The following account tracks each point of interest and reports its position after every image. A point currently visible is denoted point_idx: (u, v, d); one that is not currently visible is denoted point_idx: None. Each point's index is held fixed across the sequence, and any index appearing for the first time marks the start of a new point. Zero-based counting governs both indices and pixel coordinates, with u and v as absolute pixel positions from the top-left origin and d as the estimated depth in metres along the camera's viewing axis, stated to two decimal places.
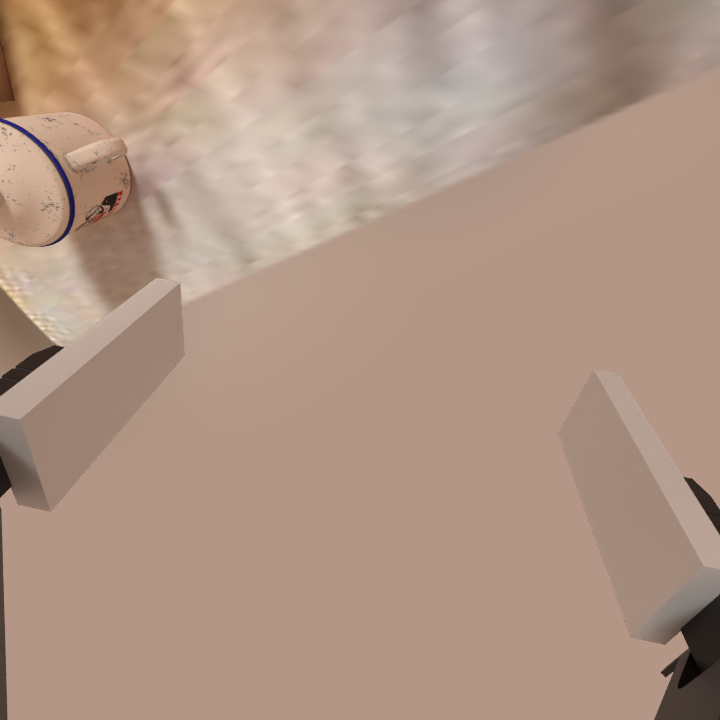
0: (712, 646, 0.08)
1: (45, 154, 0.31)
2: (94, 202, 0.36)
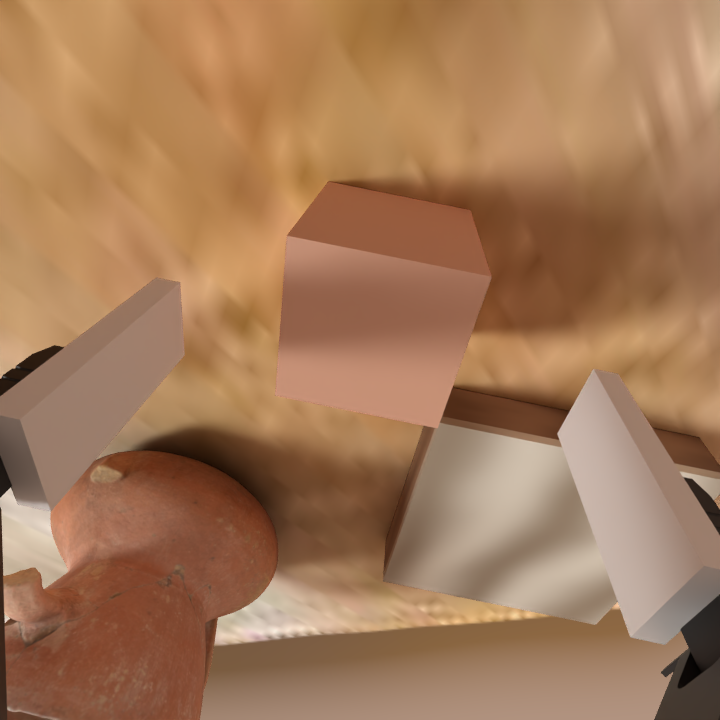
0: (712, 646, 0.08)
1: None
2: None
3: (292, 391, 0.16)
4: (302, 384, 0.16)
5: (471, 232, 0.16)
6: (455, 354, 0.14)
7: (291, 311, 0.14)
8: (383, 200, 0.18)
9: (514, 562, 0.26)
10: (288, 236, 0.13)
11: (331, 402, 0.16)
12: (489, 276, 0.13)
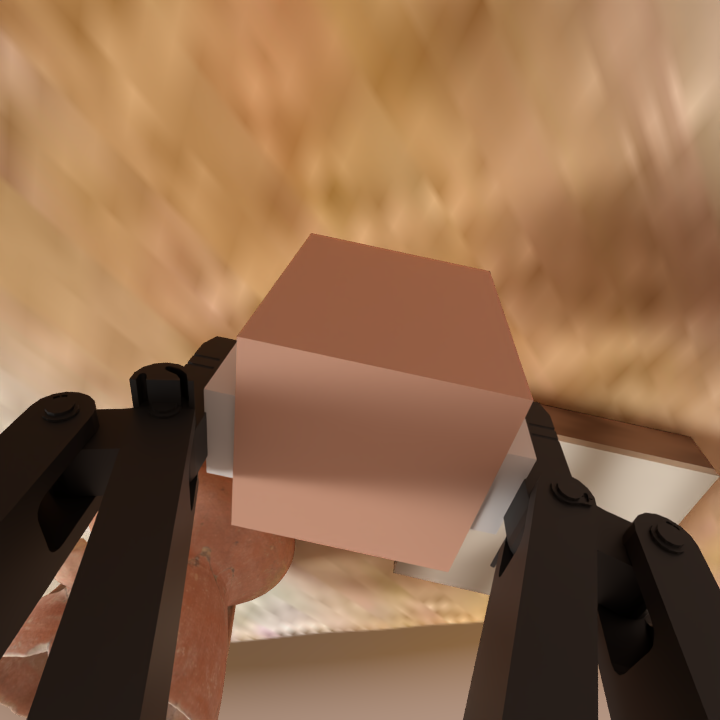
0: (518, 532, 0.10)
1: None
2: None
3: (253, 521, 0.12)
4: (266, 513, 0.12)
5: (494, 311, 0.12)
6: (476, 491, 0.10)
7: (248, 429, 0.10)
8: (379, 261, 0.14)
9: None
10: (239, 337, 0.09)
11: (306, 536, 0.12)
12: (529, 399, 0.09)
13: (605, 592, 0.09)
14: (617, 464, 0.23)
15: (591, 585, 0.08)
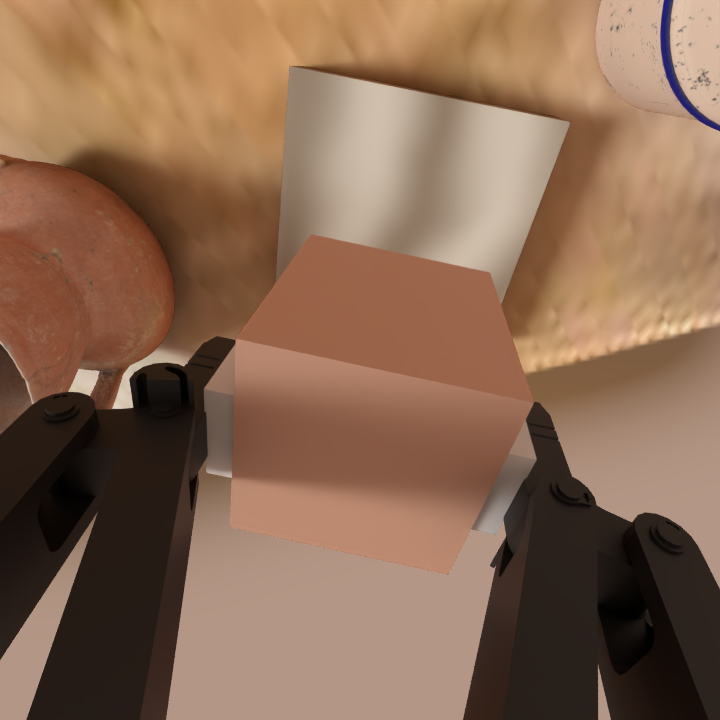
0: (518, 532, 0.10)
1: None
2: None
3: (253, 523, 0.12)
4: (265, 516, 0.12)
5: (495, 313, 0.12)
6: (476, 493, 0.10)
7: (247, 432, 0.10)
8: (379, 262, 0.14)
9: None
10: (237, 340, 0.09)
11: (305, 538, 0.12)
12: (530, 402, 0.09)
13: (605, 592, 0.09)
14: (467, 117, 0.22)
15: (591, 585, 0.08)
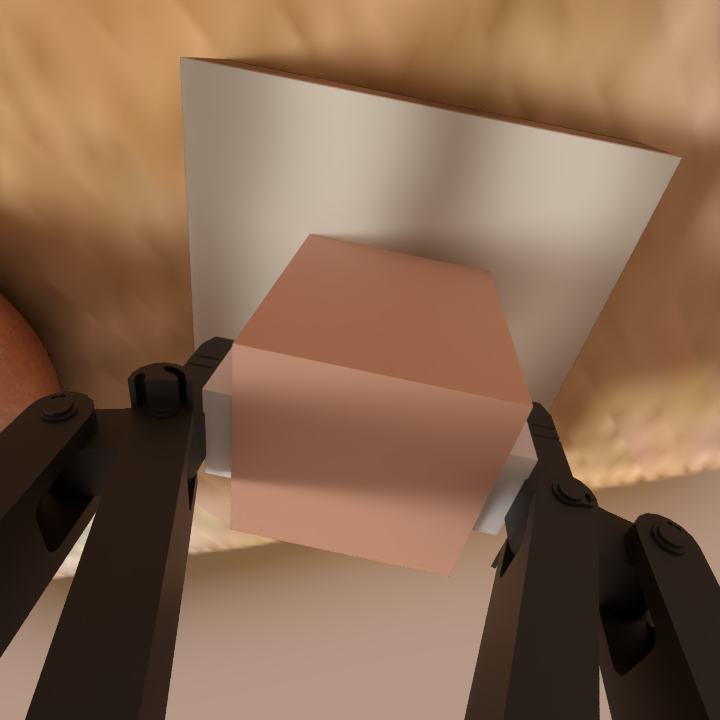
0: (519, 532, 0.10)
1: None
2: None
3: (252, 526, 0.12)
4: (265, 518, 0.12)
5: (495, 313, 0.12)
6: (475, 496, 0.10)
7: (245, 436, 0.10)
8: (378, 263, 0.14)
9: None
10: (234, 344, 0.09)
11: (305, 540, 0.12)
12: (529, 405, 0.09)
13: (607, 593, 0.09)
14: (496, 148, 0.13)
15: (593, 586, 0.08)
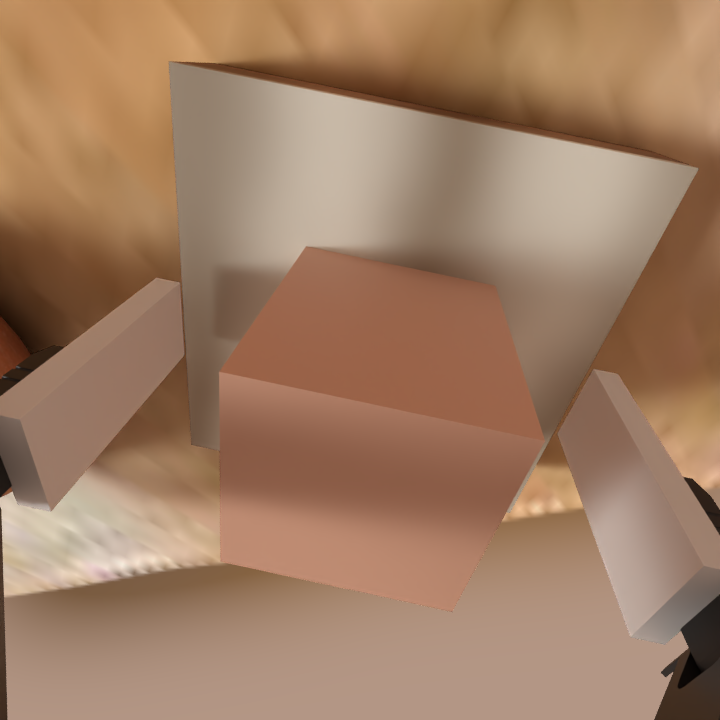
0: (712, 646, 0.08)
1: None
2: None
3: (244, 558, 0.11)
4: (257, 551, 0.11)
5: (501, 333, 0.11)
6: (481, 532, 0.10)
7: (234, 467, 0.09)
8: (378, 277, 0.13)
9: None
10: (221, 373, 0.08)
11: (300, 574, 0.11)
12: (541, 439, 0.08)
13: None
14: (501, 158, 0.12)
15: None
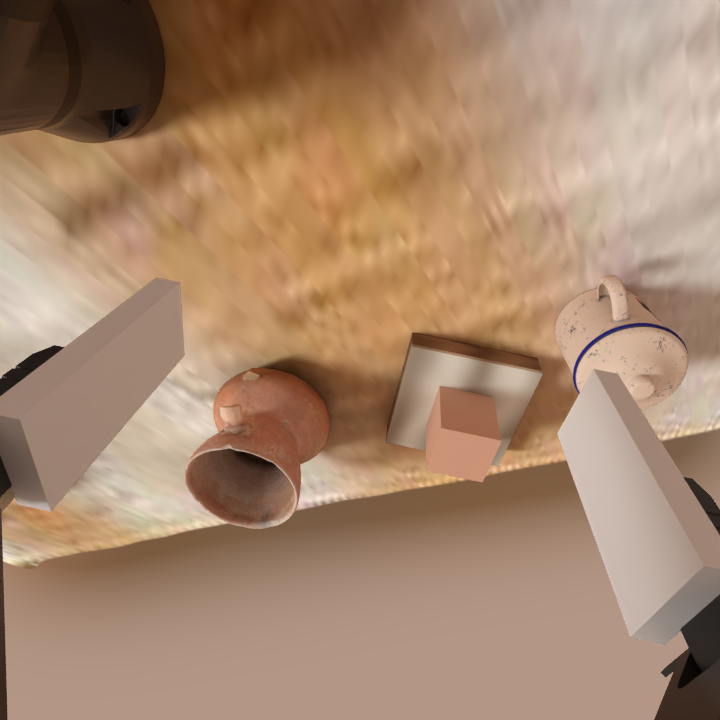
0: (712, 646, 0.08)
1: (617, 331, 0.37)
2: (652, 315, 0.40)
3: (432, 469, 0.47)
4: (436, 467, 0.46)
5: (494, 414, 0.47)
6: (489, 460, 0.45)
7: (437, 446, 0.45)
8: (461, 397, 0.48)
9: None
10: (441, 428, 0.44)
11: (445, 473, 0.47)
12: (501, 440, 0.44)
13: None
14: (494, 369, 0.47)
15: None
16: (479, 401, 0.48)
